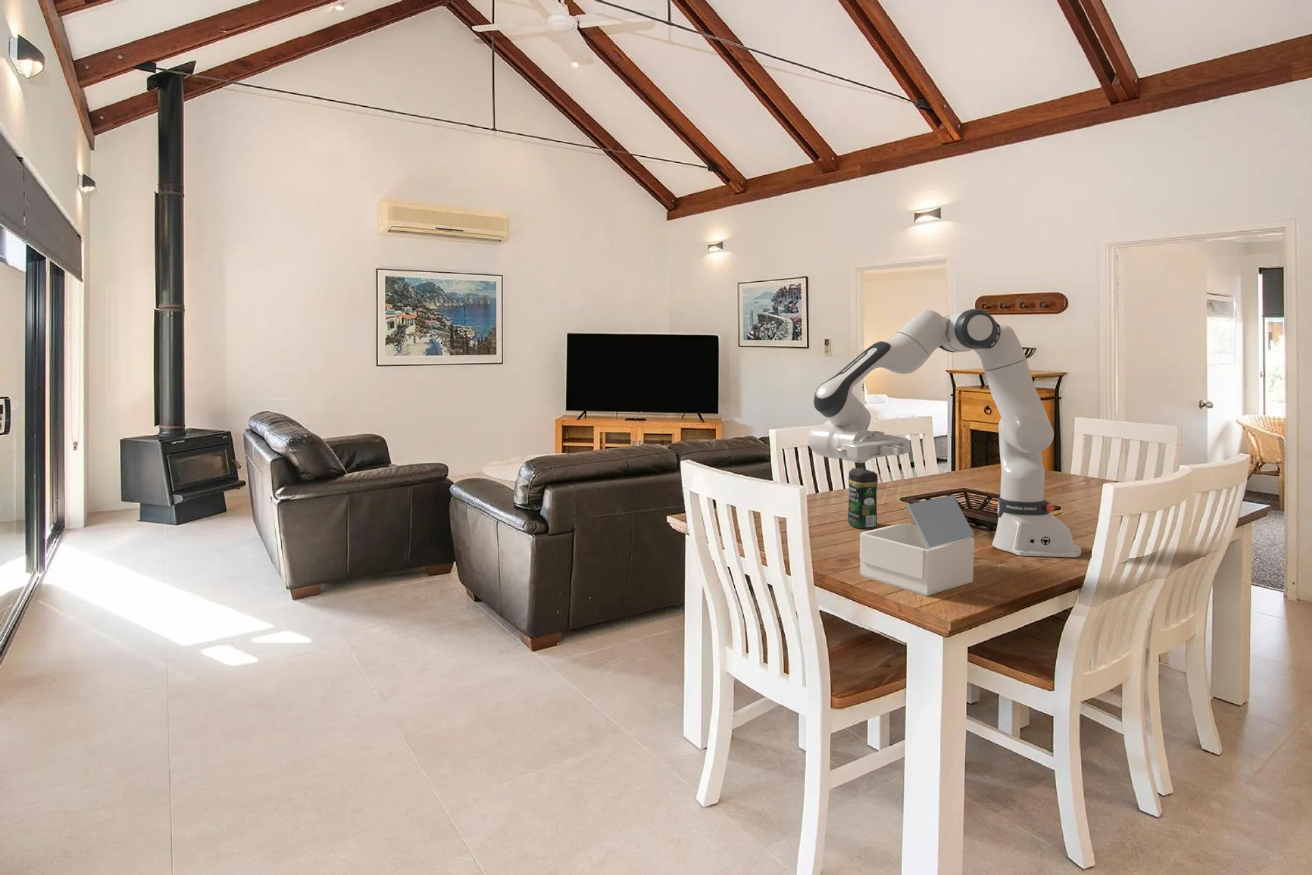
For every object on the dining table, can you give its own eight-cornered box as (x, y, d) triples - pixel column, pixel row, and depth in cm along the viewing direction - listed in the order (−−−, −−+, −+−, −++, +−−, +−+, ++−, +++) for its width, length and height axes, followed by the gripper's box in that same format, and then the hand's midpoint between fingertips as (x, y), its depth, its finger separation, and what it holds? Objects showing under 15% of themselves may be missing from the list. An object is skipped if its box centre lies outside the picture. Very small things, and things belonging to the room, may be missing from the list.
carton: (856, 575, 196) (857, 533, 195) (905, 562, 207) (906, 522, 206) (925, 597, 179) (926, 551, 178) (974, 581, 190) (975, 537, 189)
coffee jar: (843, 523, 251) (844, 466, 248) (866, 521, 252) (867, 465, 250) (857, 530, 241) (858, 471, 239) (880, 528, 243) (882, 470, 241)
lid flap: (906, 505, 183) (908, 504, 182) (951, 495, 192) (953, 494, 192) (928, 548, 179) (930, 547, 178) (972, 536, 188) (974, 535, 188)
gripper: (831, 437, 198) (874, 442, 187) (883, 430, 210) (927, 435, 198) (830, 461, 199) (873, 468, 188) (883, 453, 210) (926, 460, 199)
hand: (901, 451), depth 193 cm, fingers closed
